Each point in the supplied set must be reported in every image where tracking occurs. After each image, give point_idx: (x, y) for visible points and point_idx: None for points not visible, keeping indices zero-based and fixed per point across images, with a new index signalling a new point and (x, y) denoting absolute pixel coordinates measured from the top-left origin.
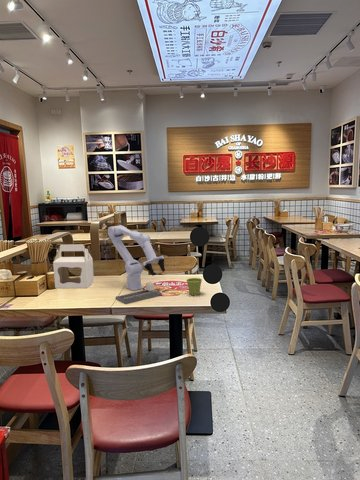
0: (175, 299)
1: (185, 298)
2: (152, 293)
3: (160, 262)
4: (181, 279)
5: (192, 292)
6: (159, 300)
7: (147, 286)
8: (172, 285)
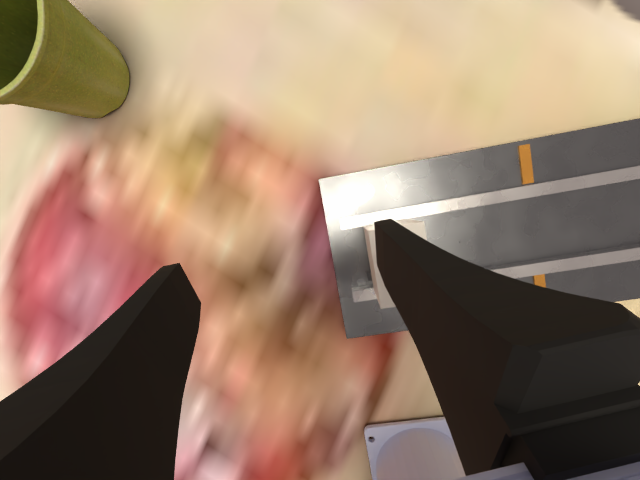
0: (272, 29)
1: (196, 13)
2: (390, 205)
3: (103, 450)
4: None
5: (103, 35)
6: (388, 70)
7: None
8: None
